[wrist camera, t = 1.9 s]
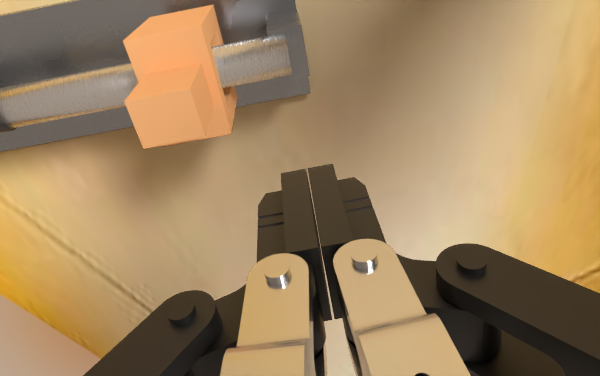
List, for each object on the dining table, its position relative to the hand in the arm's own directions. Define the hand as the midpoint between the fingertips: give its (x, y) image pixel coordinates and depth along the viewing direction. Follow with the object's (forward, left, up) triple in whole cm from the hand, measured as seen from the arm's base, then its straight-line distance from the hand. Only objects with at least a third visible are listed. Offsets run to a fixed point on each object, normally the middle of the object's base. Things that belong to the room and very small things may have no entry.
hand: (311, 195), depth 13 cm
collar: (+6, 0, -18) cm, 19 cm away
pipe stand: (+12, 0, -21) cm, 25 cm away
